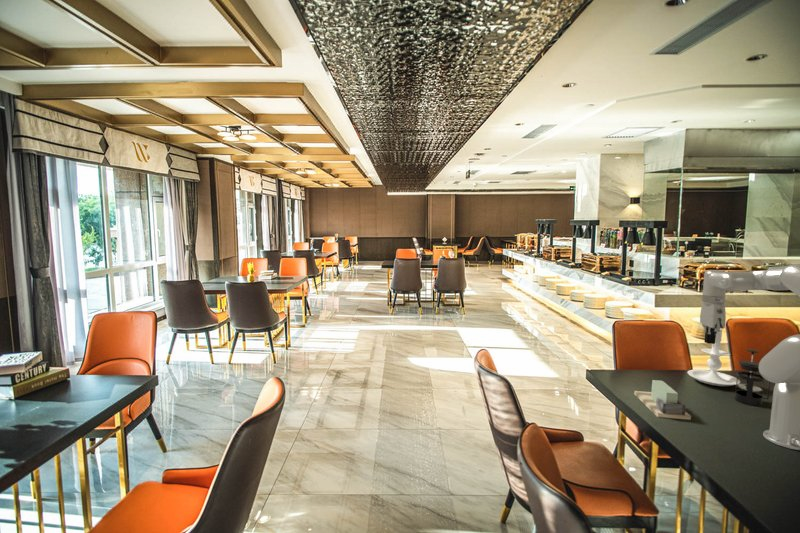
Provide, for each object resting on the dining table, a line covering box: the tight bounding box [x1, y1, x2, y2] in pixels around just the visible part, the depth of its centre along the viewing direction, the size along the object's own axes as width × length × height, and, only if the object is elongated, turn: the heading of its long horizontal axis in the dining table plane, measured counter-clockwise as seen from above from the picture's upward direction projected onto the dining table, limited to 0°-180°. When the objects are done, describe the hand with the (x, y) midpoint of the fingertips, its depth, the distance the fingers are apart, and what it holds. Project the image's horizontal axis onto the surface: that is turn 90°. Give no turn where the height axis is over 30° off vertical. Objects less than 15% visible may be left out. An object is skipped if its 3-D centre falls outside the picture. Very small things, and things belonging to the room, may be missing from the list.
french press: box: [734, 348, 771, 407], centre depth 177 cm, size 12×9×23 cm
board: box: [634, 390, 692, 421], centre depth 173 cm, size 23×12×6 cm, turn 171°
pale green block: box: [650, 379, 679, 404], centre depth 170 cm, size 14×4×8 cm, turn 169°
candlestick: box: [686, 328, 741, 387], centre depth 201 cm, size 21×25×28 cm
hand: (709, 343), depth 172 cm, fingers closed
